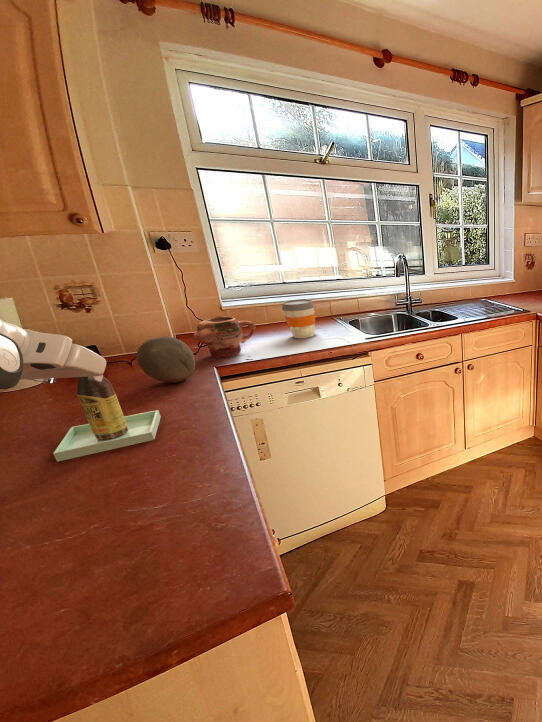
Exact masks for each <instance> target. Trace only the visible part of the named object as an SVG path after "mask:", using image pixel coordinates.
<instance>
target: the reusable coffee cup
mask: <svg viewBox="0 0 542 722" xmlns="http://www.w3.org/2000/svg"><path fill="white" fill-rule="evenodd" d="M281 308H282V311H283V313H284V318H285V321H286V323H287V327H289V329H290V331H291V335H292V338H294V339H306V338H310V337H313V336H315V335H316V328H315V324H316V313H315V310H314V309H315V305H314V302H313V299H308V298H298V299H290V300H286V301H282V302H281Z"/></svg>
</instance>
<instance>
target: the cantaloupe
mask: <svg viewBox="0 0 542 722" xmlns="http://www.w3.org/2000/svg"><path fill="white" fill-rule="evenodd" d="M136 363H137V365H138V367H139V368H140V369H141V371H143V373H144V374H146V375H147V376H148V377H150V378H153V379H155V380H157V381H159V382H164V383H171V384H172V383H181V382H184V381H185V380H187V379H188V378H189V377H192V375H193V374H194V372H195V370H196V359H195V355H194V352H193V351H192V349H191V348H190V347H189V346H188V345H187V344H186V343H185V342H184V341H182V340H181V339H178V338H177V337H176V338H175V337H172V336H161V337H160V336H159V337H154V338H153V337H152V338H149V339H147V340H145V341H144V342H143V343H142V344H141V345H140V346H139V347H138V349H137V350H136Z"/></svg>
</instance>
